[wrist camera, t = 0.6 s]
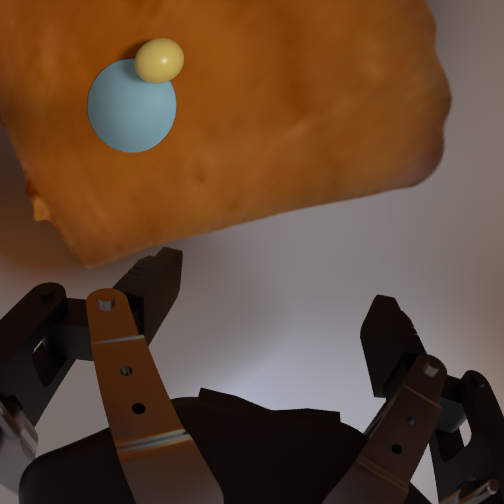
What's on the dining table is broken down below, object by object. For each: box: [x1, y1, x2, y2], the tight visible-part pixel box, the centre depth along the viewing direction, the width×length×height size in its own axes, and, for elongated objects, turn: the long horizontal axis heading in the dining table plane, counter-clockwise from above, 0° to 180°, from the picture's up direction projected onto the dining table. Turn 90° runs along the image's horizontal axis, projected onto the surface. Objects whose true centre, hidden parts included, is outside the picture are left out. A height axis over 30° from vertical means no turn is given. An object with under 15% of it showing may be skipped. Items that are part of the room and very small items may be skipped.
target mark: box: [87, 59, 176, 153], centre depth 32 cm, size 13×13×1 cm
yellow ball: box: [134, 38, 184, 84], centre depth 26 cm, size 6×6×6 cm
